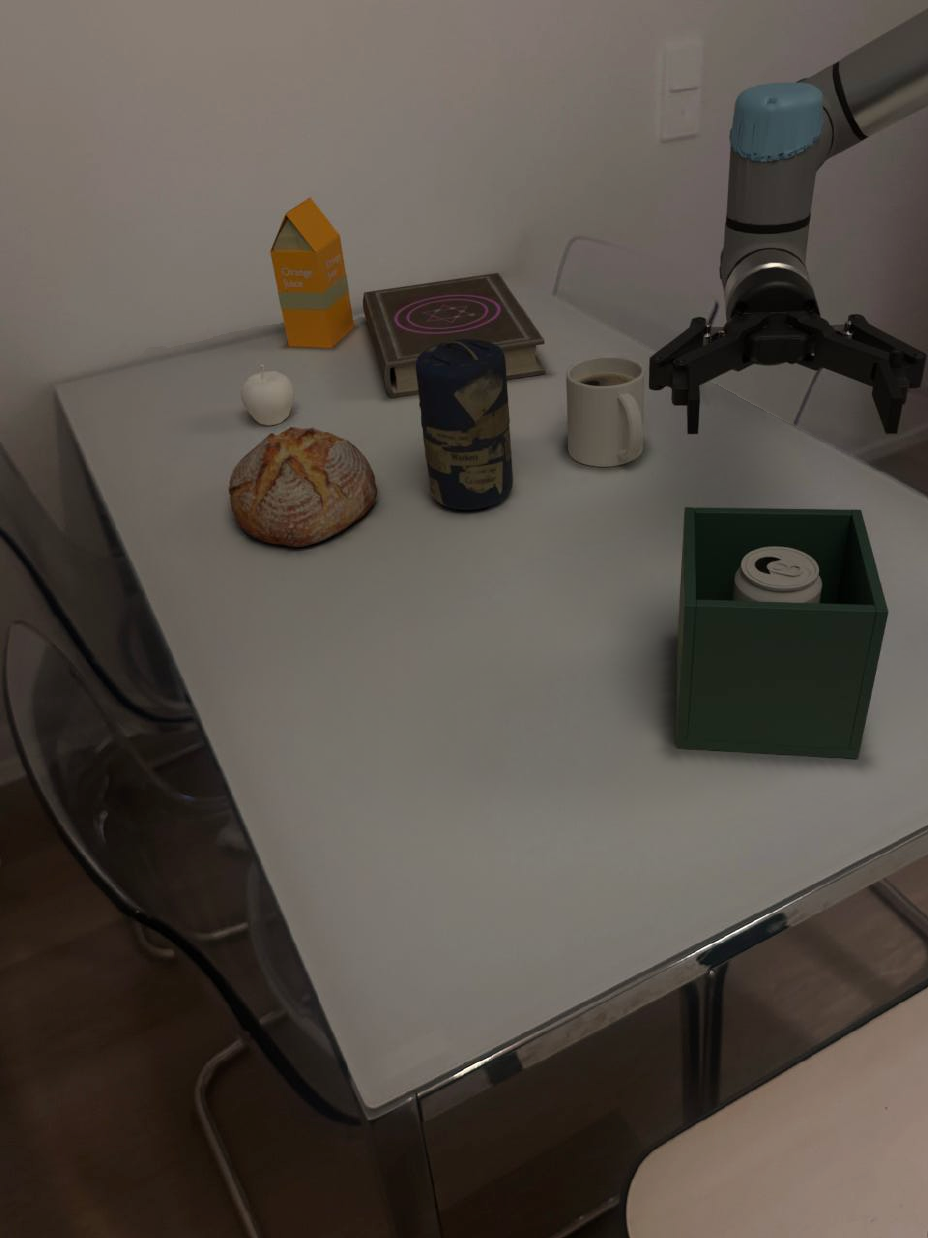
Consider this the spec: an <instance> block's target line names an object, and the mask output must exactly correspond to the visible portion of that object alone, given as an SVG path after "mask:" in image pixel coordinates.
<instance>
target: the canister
mask: <svg viewBox="0 0 928 1238" xmlns="http://www.w3.org/2000/svg"><path fill="white" fill-rule="evenodd" d="M416 376H417V383H418V392H419V394H418V398H419V399H418V400H419V403H418V405H419V406H418V407H419V408H420V409H419V410H420V424H421V428H422V438H423V439H422V440H423V446H424V456H425V461H426V467H427V475H428V482H429V489H430V493H431V495H432V497H433V499H434V500H435V501H436V502H438V503H439V504H441V505H442V506H445V507H448V508H451V509H455V510H465V511H467V510H480V509H484V508H488V507H491V506H494V505H496V504H498V503H500V502H501V501H502V500H504V499H505V498H507V496H508V495H509V493H511V491H512V488H513V485H514V474H513V460H512V459H513V458H512V457H513V456H512V444H511V443H512V441H511V440H512V439H511V431H510V430H511V429H510V428H511V427H510V423H511V419H510V406H509V393H508V392H509V391H508V380H507V373H506V361H505V356H504V353H503V351H502V350H501V348H500V347H499V346H497V345H495V344H493V343H491V342H488V341H483V340H475V339H459V340H452V341H447V342H442V343H439V344H436V345H433V346H431V347H429V348H427V349H426V350H424V351H423V352H422V353H421V354H420V355H419V356H418V358H417V361H416Z"/></svg>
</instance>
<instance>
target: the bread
mask: <svg viewBox="0 0 928 1238" xmlns="http://www.w3.org/2000/svg"><path fill="white" fill-rule="evenodd" d="M228 494H229V503H230V506H231V512H232V514H233V516H234V519H235V521H236V523H237V524H238V526H239V527H240V528H242V529H243V531H244V532H245V533H246V534H248V536H251V537H252V538H254V539H256V540H258V541H261V542H263V543H267V544H272V545H278V546H281V545H283V546H287V547H291V548H303V547H306V546H311V545H315V544H317V543H320V542H322V541H325V540H327V539H329V538H332V537H333V536H335V535H337V534H339V533H341V532H342V531H344V530H345V529H347V528H348V527H350V526H351V525H353V524H354V523H356V522H357V521H358V520H360V519H361V518H363V517H364V516H365V515H366V514H367V512H368V511H369V510H371V508H372V507H373V505H374V504H375V503H376V500H377V497H378V488H377V484H376V475H375V473H374V471H373V469H372V466H371V464H370V462H369V461H368V459H367V457H366V456H365V455H364V454H363V452H362V451H360V449H359V448H357V447H356V445H354V444H353V443H352V442H351V441H349V440H348V439H344V438H342V437H340V436H337V435H336V434H333V433H331V432H327V431H322V430H320V429H316V428H314V426H311V427H308V428H307V427H305V428H301V427H296V426H290V427H289V428H288V429H287V428H286V429H285V430H284V431H282V432H280V433H279V434H277V435H276V434H275V433H273V432H271V433H269V434H268V435H267V436H266V437H265V438H263V440H262V441H261V442H259V443H258V444H257V445H255V447H254V448H253V449H251V450H250V451H249V452H248V453H246V454H245V455H244V456H243V457H242V458H241V459H240V460H239V461H238V462H237V464H236V465H235V466H234V468H233V470H232V472H231V475H230V479H229V486H228Z"/></svg>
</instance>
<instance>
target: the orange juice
mask: <svg viewBox="0 0 928 1238" xmlns="http://www.w3.org/2000/svg"><path fill="white" fill-rule="evenodd" d="M269 253H270V254H269V255H270V258H271V264H272V268H273V273H274V277H275V283H276V289H277V295H278V300H279V306H280V310H281V314H282V318H283V323H284V329H285V334H286V339H287V344H288V347H290V348H291V347H295V348H318V349H334V347H336V345H338V343H340V342H341V341H342V340H343V339H344V338H345V337H346V336H347V335H348V334H349V333H350V332H351V331H352V330H353V329H354V328H355V323H354V322H355V321H354V317H353V309H352V305H351V298H350V297H351V296H350V289H349V282H348V276H347V272H346V267H345V259H344V252H343V245H342V240H341V234H340V233H339V232H338V231H337V230H336V228H335V227H334V226H333V224H332V223H331V222H330V220H328V218H327V216H326V215H325V214H324V212H323V211H322V210H321V209H320V207H319V206H318V205H317V204H316V202H315V201H314V200H313V199H312V196H310V197H308V198H306V199H305V200H304V201H302V202H300V203H299V204H297V205H295V206H294V207H293V208H291V209H289V210H288V211H286V212H285V214H284V217H283V218H282V221H281V224H280V226H279V228H278V232H277V234H276V236H275V239H274V241H273V244H272V246H271V248H270V250H269Z"/></svg>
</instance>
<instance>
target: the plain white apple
mask: <svg viewBox="0 0 928 1238" xmlns="http://www.w3.org/2000/svg"><path fill="white" fill-rule="evenodd" d="M294 398H295V388H294V385H293V382H292V381H291V380H290V379H289V378H288V376H286V375H285V374H283V373H281V372H279V371H276V370H269V371H265V365H264V364H263V363H262V364H260V371H259V372H257V373H255V374H252V375H250V376H248V377H246V379H245V380H244V382H243V383H242V386H241V388H240V400H241V402H242V404H243V406H244V408H245V409H246V410H247V412H248V413H249V414H250V415H251V417H252V418H253V419H254V420H255V421H256V422H257V424H260V425H262V426H270V427H271V426H274V425H279V424H281V423H282V422H284V421H285V420H287V418H288V417H289V416H290V413H291V409H292V405H293V403H294Z"/></svg>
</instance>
